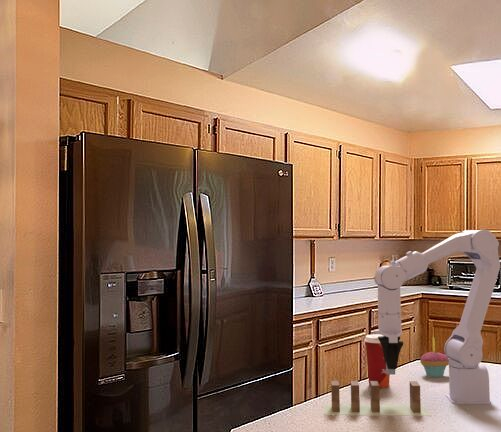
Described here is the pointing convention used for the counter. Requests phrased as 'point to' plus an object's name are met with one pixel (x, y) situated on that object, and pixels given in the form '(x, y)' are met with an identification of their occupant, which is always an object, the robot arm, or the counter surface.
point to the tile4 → (355, 396)
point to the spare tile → (390, 371)
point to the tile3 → (375, 396)
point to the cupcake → (434, 362)
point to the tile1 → (415, 397)
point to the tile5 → (335, 396)
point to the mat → (384, 410)
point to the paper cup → (376, 361)
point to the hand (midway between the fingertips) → (390, 366)
